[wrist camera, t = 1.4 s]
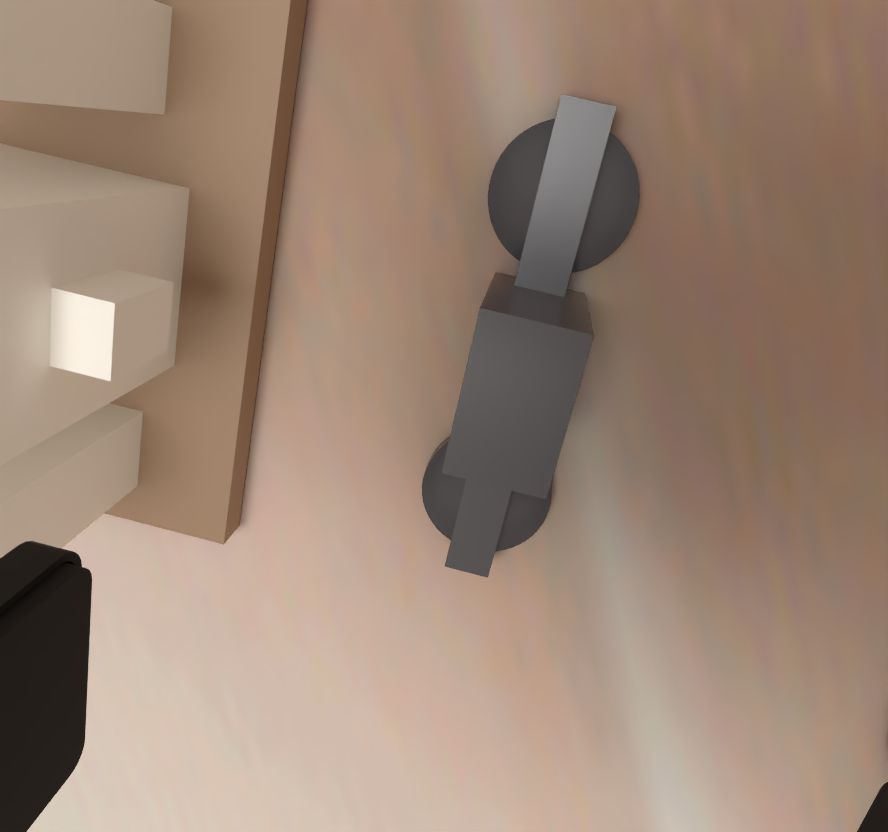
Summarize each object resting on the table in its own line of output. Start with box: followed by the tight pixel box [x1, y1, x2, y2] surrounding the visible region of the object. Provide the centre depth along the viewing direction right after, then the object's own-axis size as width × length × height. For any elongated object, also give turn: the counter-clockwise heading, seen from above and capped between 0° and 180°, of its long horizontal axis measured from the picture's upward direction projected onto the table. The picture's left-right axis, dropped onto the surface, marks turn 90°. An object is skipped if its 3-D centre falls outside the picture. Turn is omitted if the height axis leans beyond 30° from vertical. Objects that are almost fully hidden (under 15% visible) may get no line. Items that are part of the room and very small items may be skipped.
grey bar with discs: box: [422, 94, 639, 577], centre depth 23 cm, size 5×16×6 cm, turn 168°
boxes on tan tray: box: [0, 0, 308, 558], centre depth 22 cm, size 12×19×10 cm, turn 168°
